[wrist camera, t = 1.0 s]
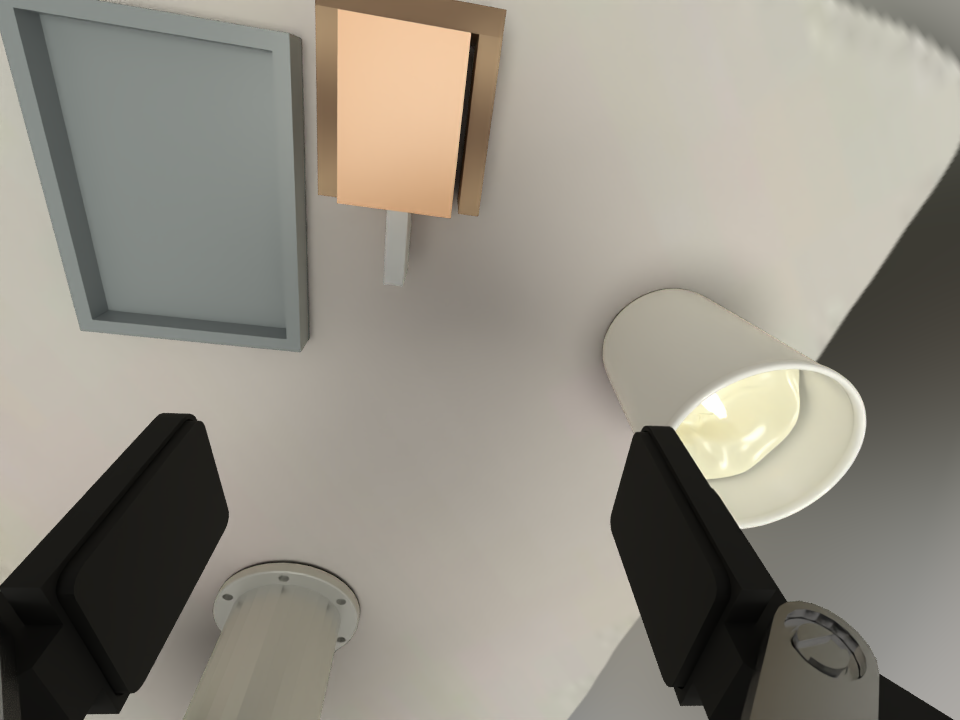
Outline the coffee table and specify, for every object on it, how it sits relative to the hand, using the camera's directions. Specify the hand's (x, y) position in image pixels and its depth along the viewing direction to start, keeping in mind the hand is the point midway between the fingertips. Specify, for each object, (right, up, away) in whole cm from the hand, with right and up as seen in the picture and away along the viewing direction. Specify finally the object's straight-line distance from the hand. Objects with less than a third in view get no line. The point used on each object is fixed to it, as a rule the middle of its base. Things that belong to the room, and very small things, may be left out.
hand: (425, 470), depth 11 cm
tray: (-15, +12, +16) cm, 25 cm away
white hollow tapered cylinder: (+14, +4, +22) cm, 27 cm away
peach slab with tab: (-3, +14, +16) cm, 21 cm away
